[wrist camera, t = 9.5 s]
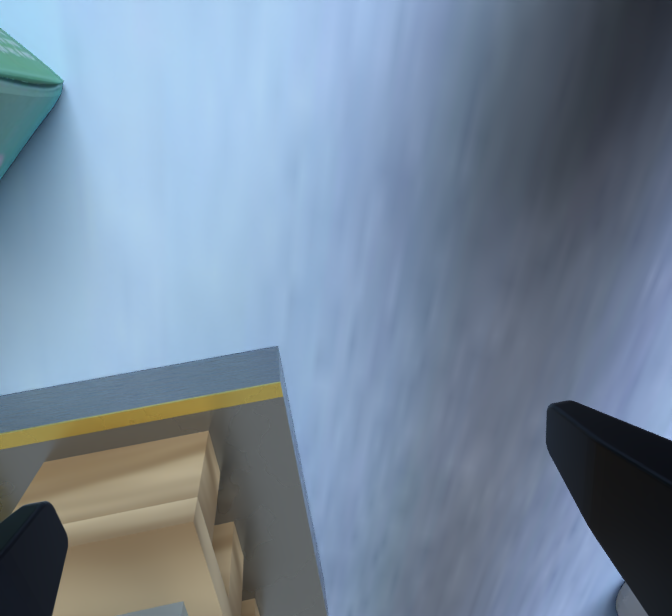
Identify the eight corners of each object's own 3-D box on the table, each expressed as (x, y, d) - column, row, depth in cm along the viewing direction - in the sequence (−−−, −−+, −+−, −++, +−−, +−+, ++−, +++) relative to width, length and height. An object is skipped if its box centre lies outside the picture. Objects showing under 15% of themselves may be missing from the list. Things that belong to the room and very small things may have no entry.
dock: (277, 346, 21) (282, 411, 16) (323, 581, 26) (337, 680, 22) (-43, 403, 20) (-134, 490, 15) (72, 636, 25) (30, 752, 21)
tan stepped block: (43, 462, 18) (-22, 565, 14) (208, 430, 19) (193, 521, 14) (130, 658, 22) (100, 783, 18) (263, 628, 23) (263, 743, 19)
